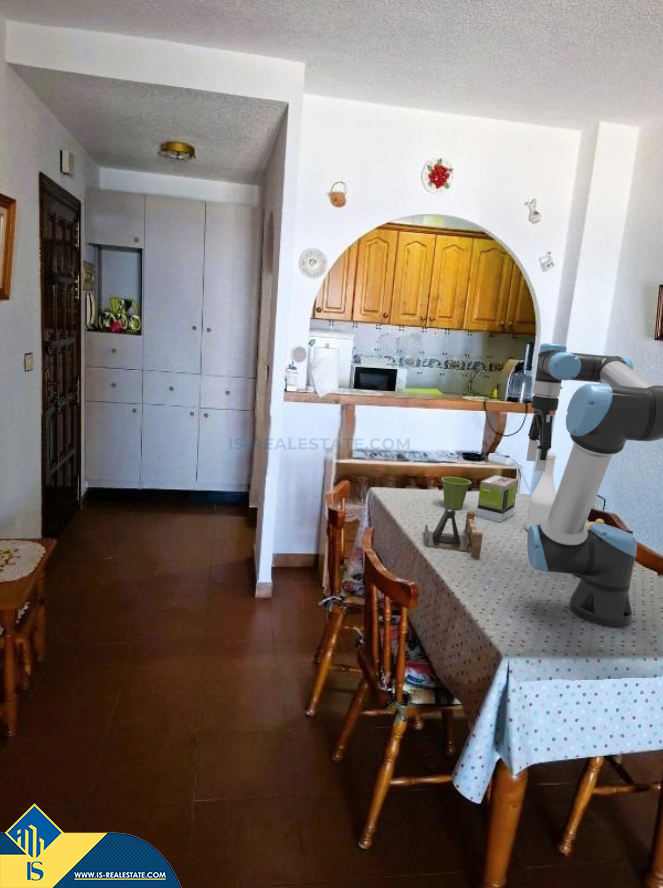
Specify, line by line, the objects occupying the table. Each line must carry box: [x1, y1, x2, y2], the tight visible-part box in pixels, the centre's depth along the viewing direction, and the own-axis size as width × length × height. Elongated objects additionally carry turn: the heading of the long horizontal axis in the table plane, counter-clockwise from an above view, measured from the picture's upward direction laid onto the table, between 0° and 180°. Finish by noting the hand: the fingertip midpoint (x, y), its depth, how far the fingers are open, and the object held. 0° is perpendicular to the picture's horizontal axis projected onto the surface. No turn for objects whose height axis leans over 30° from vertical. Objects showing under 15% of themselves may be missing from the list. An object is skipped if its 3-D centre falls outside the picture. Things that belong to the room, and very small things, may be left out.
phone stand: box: [433, 503, 461, 545], centre depth 205 cm, size 9×6×12 cm, turn 83°
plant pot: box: [441, 476, 472, 510], centre depth 248 cm, size 12×12×11 cm
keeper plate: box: [424, 524, 470, 553], centre depth 206 cm, size 14×14×3 cm
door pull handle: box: [464, 511, 483, 560], centre depth 205 cm, size 25×2×8 cm, turn 173°
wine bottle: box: [525, 450, 557, 531], centre depth 223 cm, size 10×10×30 cm
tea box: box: [476, 474, 519, 523], centre depth 240 cm, size 15×10×15 cm
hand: (535, 465), depth 186 cm, fingers open, 13 cm apart
